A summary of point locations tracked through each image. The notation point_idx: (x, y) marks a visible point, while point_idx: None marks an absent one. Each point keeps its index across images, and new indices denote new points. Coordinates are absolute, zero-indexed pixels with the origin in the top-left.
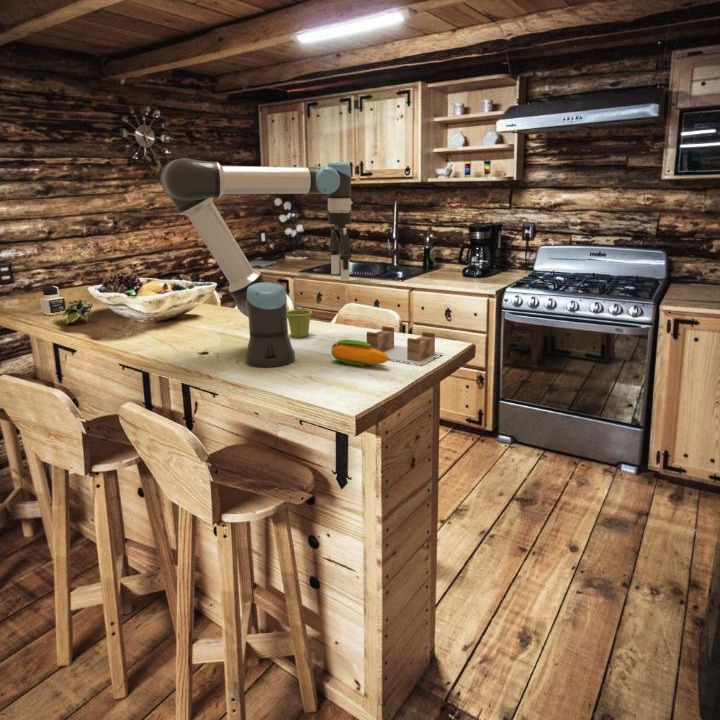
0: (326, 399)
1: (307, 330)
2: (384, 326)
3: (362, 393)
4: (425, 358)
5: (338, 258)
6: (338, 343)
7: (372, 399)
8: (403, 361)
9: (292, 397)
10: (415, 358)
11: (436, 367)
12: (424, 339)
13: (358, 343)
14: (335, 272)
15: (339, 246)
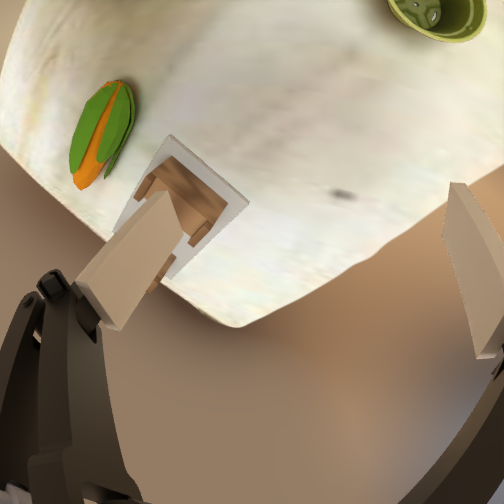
0: (5, 98)
1: (402, 21)
2: (205, 231)
3: (21, 137)
4: None
5: (473, 324)
6: (100, 102)
7: (13, 148)
8: (123, 210)
9: (6, 57)
10: None
11: None
12: None
13: (72, 149)
14: (450, 216)
15: (62, 396)
